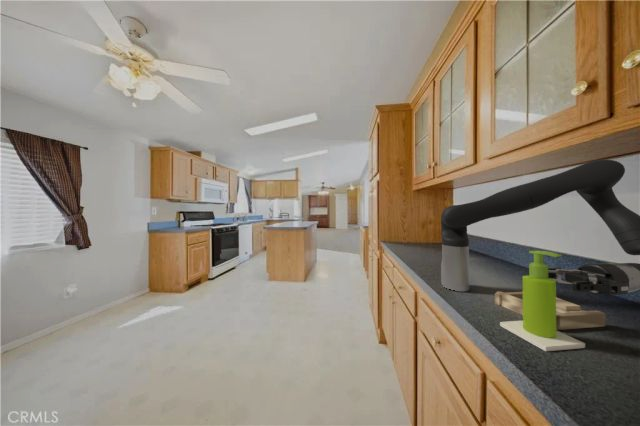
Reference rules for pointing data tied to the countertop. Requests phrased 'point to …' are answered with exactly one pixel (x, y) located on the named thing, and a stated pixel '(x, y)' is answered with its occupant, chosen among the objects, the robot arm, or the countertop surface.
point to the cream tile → (543, 338)
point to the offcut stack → (566, 306)
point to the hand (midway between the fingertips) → (553, 280)
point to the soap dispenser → (539, 298)
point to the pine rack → (562, 319)
